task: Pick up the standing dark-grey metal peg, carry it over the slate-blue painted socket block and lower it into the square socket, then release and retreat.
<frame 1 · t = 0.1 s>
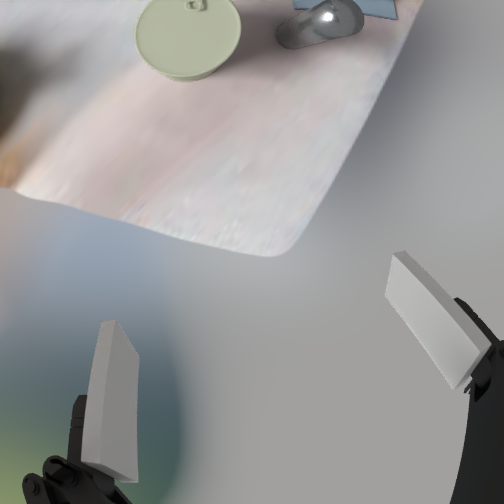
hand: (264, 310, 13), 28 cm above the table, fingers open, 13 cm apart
can: (188, 47, 28), on the table
peg: (291, 35, 29), on the table
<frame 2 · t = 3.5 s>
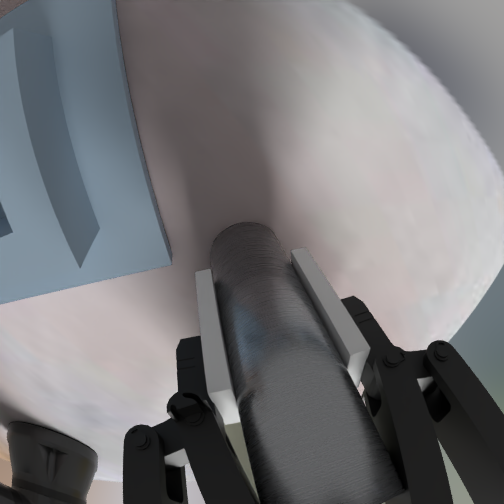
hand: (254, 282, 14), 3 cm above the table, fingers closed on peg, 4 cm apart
can: (266, 373, 24), on the table
socket block: (5, 163, 10), on the table
peg: (245, 254, 17), on the table, touching gripper
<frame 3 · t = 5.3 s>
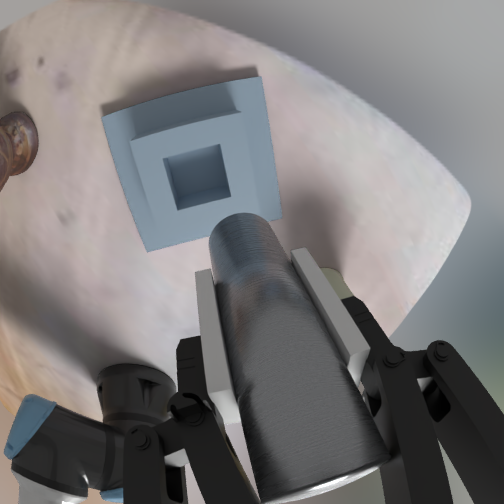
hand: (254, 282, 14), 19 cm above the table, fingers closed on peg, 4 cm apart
mortar and pestle: (18, 157, 23), on the table
can: (315, 292, 42), on the table
socket block: (196, 165, 29), on the table
peg: (241, 242, 18), point 15 cm above the table, touching gripper
when the fingers open (6 cm above the table, at t = 7.6 s): peg drops 1 cm, resting on socket block.
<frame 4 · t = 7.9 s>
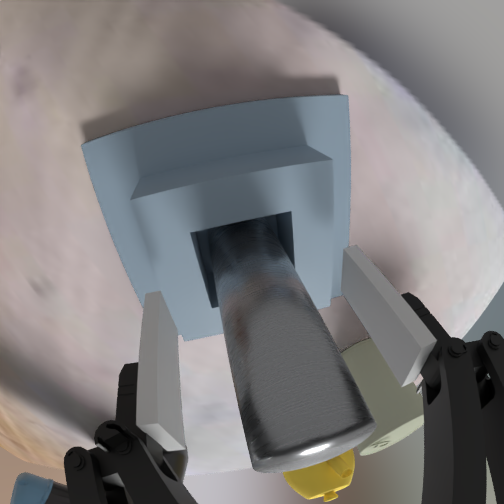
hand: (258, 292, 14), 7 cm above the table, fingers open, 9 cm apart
can: (357, 360, 33), on the table
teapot: (315, 444, 50), on the table
socket block: (235, 226, 20), on the table
peg: (238, 232, 19), point 1 cm above the table, touching socket block
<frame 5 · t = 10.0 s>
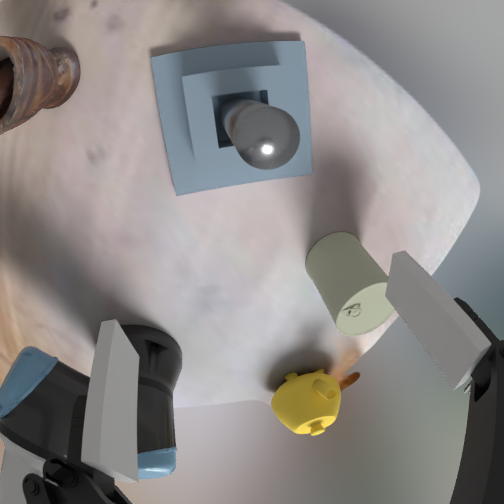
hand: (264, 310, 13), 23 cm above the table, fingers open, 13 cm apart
mortar and pestle: (54, 91, 23), on the table
can: (333, 257, 42), on the table
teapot: (303, 376, 60), on the table
socket block: (236, 113, 29), on the table
peg: (238, 114, 28), point 1 cm above the table, touching socket block
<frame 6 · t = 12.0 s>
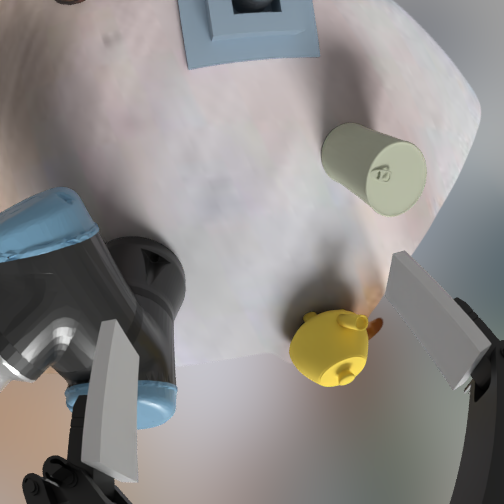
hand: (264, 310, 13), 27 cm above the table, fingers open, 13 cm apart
can: (349, 153, 38), on the table
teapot: (323, 319, 55), on the table
socket block: (246, 3, 24), on the table
peg: (248, 1, 24), point 1 cm above the table, touching socket block
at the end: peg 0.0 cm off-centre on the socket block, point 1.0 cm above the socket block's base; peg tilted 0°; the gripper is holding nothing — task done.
